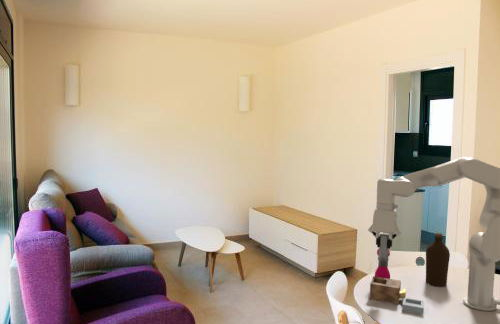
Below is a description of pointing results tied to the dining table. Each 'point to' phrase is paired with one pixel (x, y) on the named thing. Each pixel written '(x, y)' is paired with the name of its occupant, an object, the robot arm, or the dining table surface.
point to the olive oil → (437, 262)
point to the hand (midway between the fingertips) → (383, 246)
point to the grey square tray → (413, 305)
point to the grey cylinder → (383, 250)
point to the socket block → (385, 289)
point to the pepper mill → (382, 269)
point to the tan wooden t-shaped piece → (402, 294)
